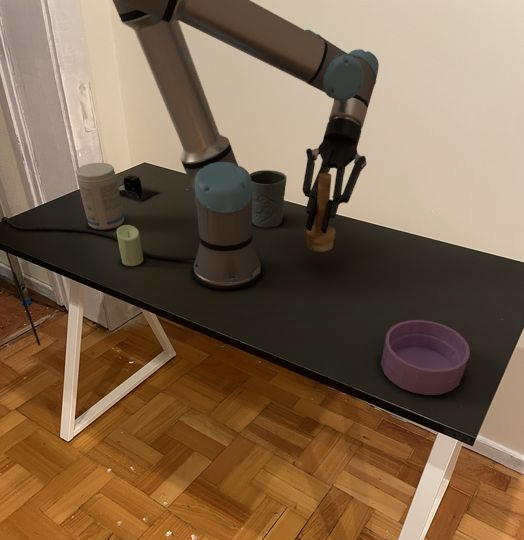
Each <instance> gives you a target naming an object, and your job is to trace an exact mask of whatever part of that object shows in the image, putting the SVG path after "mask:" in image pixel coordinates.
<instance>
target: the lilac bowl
mask: <svg viewBox="0 0 524 540" xmlns="http://www.w3.org/2000/svg"><path fill="white" fill-rule="evenodd" d="M470 356H471V352H470V346H469V343H468V342H467V340H466V338H464V337H463V336H462V335H461V334H460V333H459V332H458V331H456V330H454V329H453V328H451V327H449V326H448V325H445V324H442V323H439V322H435V321H432V320H425V319H410V320H405V321H401V322H398V323H396V324H395V325H393V326H392V327H390V328H389V329H388V331H387V333H386V334H385V338H384V343H383V348H382V353H381V360H380V366H381V369H382V371H383V374H384V375H385V376H386V377H387V378H388V380H389V381H390V382H391V383H393V384H395V385H396V386H397V387H399V388H401V389H403V390H405V391H408V392H410V393H414V394H418V395H425V396H432V395H433V396H437V395H442V394H446V393H449V392H452V391H453V390H454V389H456V388H457V387H458V386H460V383H461V381H462V379H463V378H464V377H463V376H464V373H465V370H466V367H467V365H468V362H469V359H470Z"/></svg>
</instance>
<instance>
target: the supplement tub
mask: <svg viewBox="0 0 524 540" xmlns="http://www.w3.org/2000/svg"><path fill="white" fill-rule="evenodd" d="M75 174H76V180H77V184H78V189H79V193H80V196H81V201H82V204H83V209H84V214H85V217H86V220H87V225H88V226H89V227H90V228H92V229H94V230H96V231H109V230H112V229H117V228H119V227H120V226H122V225H123V223H124V221H125V214H124V209H123V204H122V199H121V195H120V194H119V189H118V187H119V185H118V178H117V174H116V171H115V168H114V166H113V165H112V164H110V163H107V162H93V163H87V164H83V165H81V166H79V167H78V168H77V169H75Z"/></svg>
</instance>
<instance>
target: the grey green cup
mask: <svg viewBox="0 0 524 540" xmlns="http://www.w3.org/2000/svg"><path fill="white" fill-rule="evenodd" d="M249 174H250V177H251V182H252V186H253V194H252V225H255V226H256V227H258V228H259V227H260V228H275V227H277V226H279V225H281V224H282V222H283V218H284V202H285V196H286V186H287V175H286V174H285V173H283V172H281V171H278V170H271V169H266V170H265V169H263V170H257V171H253V172H251V173H249Z"/></svg>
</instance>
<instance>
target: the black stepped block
mask: <svg viewBox="0 0 524 540" xmlns="http://www.w3.org/2000/svg"><path fill="white" fill-rule="evenodd" d="M140 179H141V178H140V176H135V175H131V174H129V175H127V176H125V177H123V181H122V182H123V184H122V185H120V186H118V189H119V194H120V197H125V198H129V199H132V200H136V201H139V202H143V201H145V200H148V199H149V198H151V197H153V196H155V195H157V194H158V191H155V190H152V189H148V188H144V187H142V181H141V180H140Z"/></svg>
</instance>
